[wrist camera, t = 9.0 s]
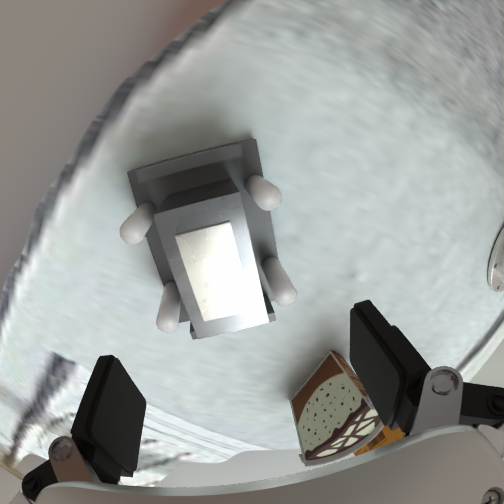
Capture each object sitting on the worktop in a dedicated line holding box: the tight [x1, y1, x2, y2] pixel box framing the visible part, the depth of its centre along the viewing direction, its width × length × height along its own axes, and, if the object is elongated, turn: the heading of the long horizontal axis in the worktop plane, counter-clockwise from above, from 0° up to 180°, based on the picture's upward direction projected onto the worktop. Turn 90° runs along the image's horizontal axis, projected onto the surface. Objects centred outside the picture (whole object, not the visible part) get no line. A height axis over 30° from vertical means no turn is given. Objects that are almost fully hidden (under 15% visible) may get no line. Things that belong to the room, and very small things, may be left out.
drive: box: [153, 178, 269, 339], centre depth 20 cm, size 5×9×6 cm, turn 12°
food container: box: [290, 350, 384, 467], centre depth 28 cm, size 12×6×10 cm, turn 154°
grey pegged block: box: [120, 139, 297, 339], centre depth 21 cm, size 10×14×6 cm
